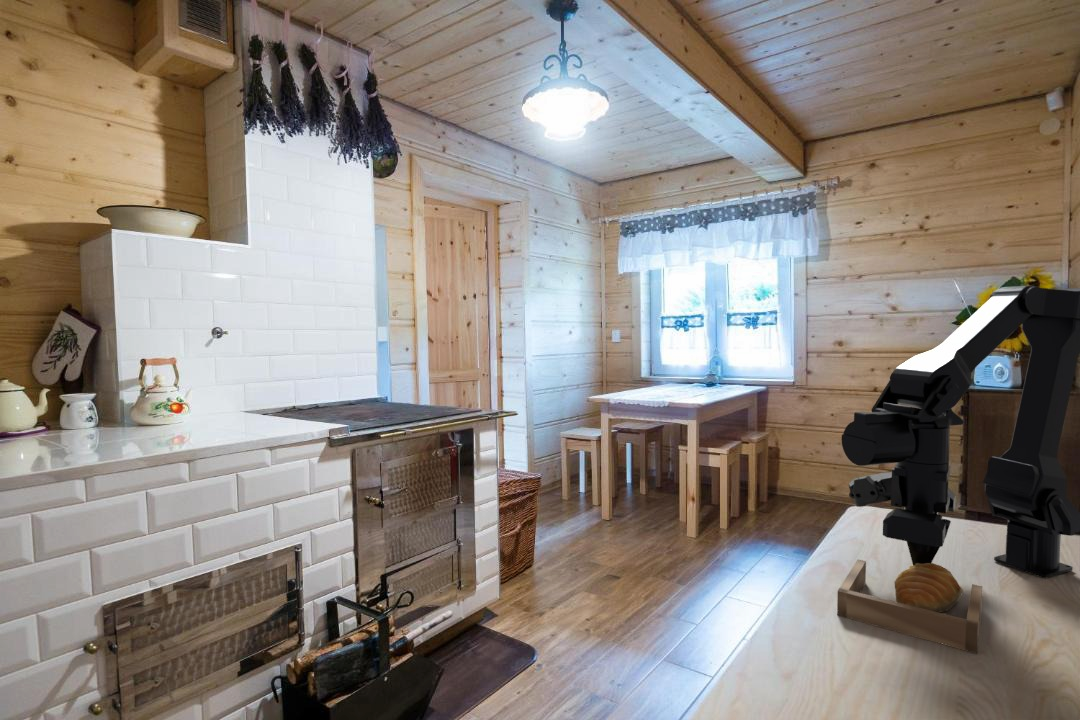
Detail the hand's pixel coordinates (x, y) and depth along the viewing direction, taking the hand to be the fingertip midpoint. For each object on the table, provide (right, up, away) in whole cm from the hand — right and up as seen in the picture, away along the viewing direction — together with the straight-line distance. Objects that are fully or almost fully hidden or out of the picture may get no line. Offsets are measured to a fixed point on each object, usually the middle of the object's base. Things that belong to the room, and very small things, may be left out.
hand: (920, 573), depth 78 cm
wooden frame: (-6, -2, -7) cm, 9 cm away
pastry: (-2, -2, -5) cm, 6 cm away
